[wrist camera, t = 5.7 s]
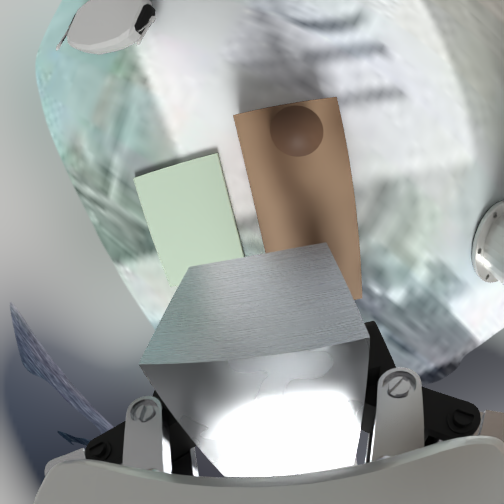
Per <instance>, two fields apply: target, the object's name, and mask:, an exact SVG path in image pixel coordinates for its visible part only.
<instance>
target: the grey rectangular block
mask: <svg viewBox="0 0 504 504" xmlns="http://www.w3.org/2000/svg"><path fill="white" fill-rule="evenodd" d="M369 347H370V336H369V333H368V331H367V329H366V326H365V324H364V322H363V319H362V317H361V315H360V313H359V310H358V308H357V306H356V304H355V301H354V299H353V297H352V295H351V293H350V290H349V288H348V286H347V284H346V282H345V280H344V278H343V275H342V273H341V271H340V269H339V267H338V265H337V263H336V261H335V259H334V257H333V255H332V253H331V251H330V249H329V247H328V245H327V243H326V242H325V243H320V244H314V245H309V246H303V247H298V248H292V249H287V250H281V251H276V252H270V253H264V254H259V255H253V256H248V257H242V258H236V259H231V260H225V261H219V262H214V263H208V264H203V265H197V266H191V267H189V268H188V270H187V272H186V274H185V275H184V277H183V279H182V281H181V283H180V285H179V286H178V288H177V290H176V292H175V294H174V296H173V298H172V300H171V301H170V303H169V305H168V307H167V309H166V311H165V313H164V315H163V317H162V319H161V321H160V323H159V325H158V326H157V328H156V330H155V332H154V334H153V336H152V338H151V341H150V342H149V344H148V346H147V348H146V350H145V352H144V354H143V356H142V358H141V361H140V363H139V366H140V367H141V369H142V370H143V372H144V373H145V375H146V377H147V378H148V379H149V381H150V383H151V384H152V386H153V387H154V389H155V390H156V392H157V393H158V395H159V396H160V398H161V399H162V400H163V402H164V403H165V405H166V406H167V407H168V409H169V410H170V412H171V413H172V414H173V416H174V417H175V418H176V420H177V421H178V422H179V424H180V425H181V426H182V428H183V429H184V430H185V431H186V433H187V434H188V435H189V436H190V438H191V439H192V440H193V441H194V442H195V444H196V445H197V446H198V447H199V448H200V449H201V451H202V452H203V453H204V454H205V455H206V457H207V458H208V459H209V460H210V461H211V462H212V463H213V465H214V466H215V467H216V468H217V469H218V470H219V471H220V472H221V473H222V474H223V475H224V476H225V477H261V476H280V475H292V474H301V473H309V472H317V471H323V470H329V469H335V468H341V467H346V466H351V465H354V461H355V456H356V451H357V446H358V440H359V434H360V429H361V423H362V416H363V409H364V401H365V393H366V384H367V374H368V362H369Z"/></svg>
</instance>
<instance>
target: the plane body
mask: <svg viewBox="0 0 504 504" xmlns="http://www.w3.org/2000/svg"><path fill="white" fill-rule="evenodd" d="M233 117H234V121H235V125H236V129H237V133H238V137H239V141H240V146H241V150H242V154H243V158H244V162H245V166H246V171H247V175H248V179H249V183H250V188H251V192H252V196H253V200H254V205H255V209H256V213H257V218H258V222H259V226H260V231H261V235H262V239H263V244H264V248H265V252H266V253H270V252H276V251H281V250H287V249H292V248H298V247H303V246H309V245H314V244H320V243H325V242H326V243H327V245H328V247H329V249H330V251H331V253H332V255H333V257H334V259H335V261H336V263H337V265H338V267H339V269H340V271H341V273H342V275H343V278H344V280H345V282H346V284H347V286H348V288H349V290H350V293H351V295H352V297H353V299H354V300H356V299H361V298H362V281H361V261H360V247H359V235H358V224H357V214H356V205H355V197H354V189H353V182H352V175H351V169H350V162H349V156H348V150H347V145H346V139H345V134H344V129H343V124H342V119H341V114H340V110H339V105H338V101H337V97H332V98H324V99H316V100H309V101H302V102H296V103H290V104H284V105H278V106H273V107H268V108H263V109H258V110H253V111H249V112H245V113H240V114H236V115H233Z"/></svg>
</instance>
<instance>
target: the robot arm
mask: <svg viewBox="0 0 504 504" xmlns="http://www.w3.org/2000/svg"><path fill="white" fill-rule="evenodd" d="M472 262H473V267H474V270H475V272H476V274H477V275H478V276H479V277H480V278H481V279H482V280H484V281H485V282H489V283H491V282H496V281H500V282H501V283H502V284H503V285H504V201H500V202H498V203H496V204H495V205H493V206H492V207H491V208H490V209H489V210H488V211H487V212H486V214H485V215H484V217H483V218H482V220H481V222H480V224H479V226H478V229H477V231H476V234H475V238H474V242H473V248H472ZM364 324H365V326H366V329H367V331H368V333H369V336H370V347H369V362H368V374H367V384H366V393H365V401H364V409H363V416H362V423H361V429H362V430H363V431H365V432H368V433H369V436H368V444H367V452H366V459H365V464H362V465H357V466H352V467H347V468H342V469H337V470H331V471H325V472H319V473H311V474H303V475H294V476H282V477H267V478H216V477H200V476H198V469H197V462H196V456H195V448H194V447H195V446H196V444H195V442H194V441H193V440H192V439H191V438H190V436H189V435H188V434H187V433H186V431H185V430H184V429H183V428H182V426H181V425H180V424H179V422H178V421H177V420H176V418H175V417H174V416H173V414H172V413H171V412H170V410H169V409H168V407H167V406H166V405H165V403H164V402H163V400H162V399H161V398H160V396H159V395H158V393H157V392H156V390H155V391H154V394H153V396H144V397H141V398H138V399H136V400H135V401H134V402H133V403H131V404H130V406H129V407H128V410H127V413H126V421H124V422H123V423H121V424H119V425H117V426H116V427H114V428H112V429H110V430H109V431H107V432H105V433H103V434H102V435H100V436H98V437H96V438H94V439H93V440H92V441H90V442H89V444H88V445H87V447H86V449H85V450H84V449H83V448H82V449H79V450H77V451H74V452H72V453H69V454H67V455H64V456H61V457H58V458H56V459H53V460H51V461H49V463H48V464H47V465H46V467H45V479H44V481H43V482H42V484H41V486H40V489H39V491H38V493H37V495H36V498H35V500H34V503H33V504H504V413H502V412H496V411H490V410H486V411H485V412H479V410H478V408H477V407H476V406H475V405H474V404H472V403H469V402H467V401H464V400H460V399H457V398H454V397H451V396H448V395H445V394H442V393H439V392H436V391H433V390H430V389H427V388H424V387H422V386H421V380H420V377H419V376H418V375H417V373H416V372H414V371H413V370H411V369H408V368H401V367H398V368H396V366H395V364H394V362H393V359H392V357H391V355H390V353H389V350H388V348H387V346H386V344H385V342H384V339H383V337H382V335H381V333H380V331H379V329H378V327H377V325H376V323H375V322H374V321H371V322H366V323H364Z"/></svg>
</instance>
